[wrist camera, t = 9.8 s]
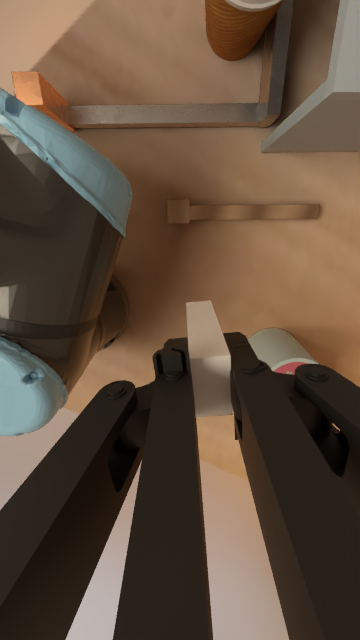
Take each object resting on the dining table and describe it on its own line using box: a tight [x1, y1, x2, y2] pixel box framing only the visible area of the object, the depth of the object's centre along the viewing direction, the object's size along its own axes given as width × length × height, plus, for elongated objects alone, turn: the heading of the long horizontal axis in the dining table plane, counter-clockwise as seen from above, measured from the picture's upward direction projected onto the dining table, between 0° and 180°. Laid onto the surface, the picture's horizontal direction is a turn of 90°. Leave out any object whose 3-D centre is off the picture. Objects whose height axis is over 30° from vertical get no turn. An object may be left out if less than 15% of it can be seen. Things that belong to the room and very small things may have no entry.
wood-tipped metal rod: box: [12, 0, 294, 132], centre depth 25 cm, size 27×16×8 cm, turn 90°
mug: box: [248, 328, 320, 375], centre depth 40 cm, size 14×9×10 cm
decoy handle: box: [167, 199, 320, 223], centre depth 32 cm, size 20×2×8 cm, turn 91°
